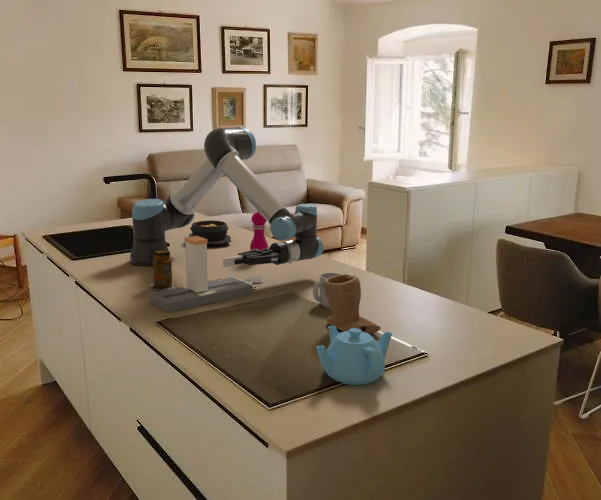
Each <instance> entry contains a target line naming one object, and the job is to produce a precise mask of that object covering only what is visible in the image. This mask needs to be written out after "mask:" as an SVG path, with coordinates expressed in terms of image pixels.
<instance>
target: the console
mask: <svg viewBox="0 0 601 500" xmlns="http://www.w3.org/2000/svg"><path fill="white" fill-rule="evenodd" d="M253 293H254V288H253V285H252V284H249V283H247V282H245V281H243V280H240V279H238V278H236V277H234V276H231V277H227V278H226V277H225V278H221V279H217V280H215V279H214V280H210V281H208V290H207V291H202V292H197V293H196V292H194V291H192V290H190V289H188V288H187V285H185V286H181V287H175V288H174V289H169V290H160V291H153V292H150V293H149V302H150V303H151V304H153V305H155V306H156V307H158V308H159V309H161V310H163V311H165V312H166V313H172V312H176V311H182V310H185V309H189V308H194V307H199V306H204V305H209V304H213V303H216V302H222V301H226V300H231V299H235V298H240V297H245V296H249V295H253Z"/></svg>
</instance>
